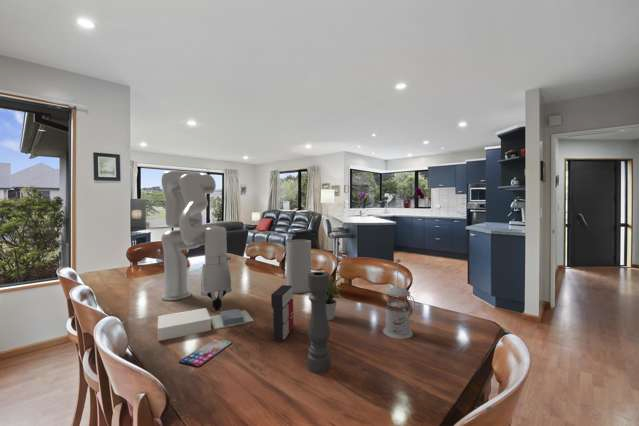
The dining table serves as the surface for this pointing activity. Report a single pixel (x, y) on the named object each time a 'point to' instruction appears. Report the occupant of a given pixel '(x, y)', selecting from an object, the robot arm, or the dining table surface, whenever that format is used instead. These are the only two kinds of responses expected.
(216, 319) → the mat
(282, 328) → the dark grey box
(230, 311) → the tile
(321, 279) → the candle holder
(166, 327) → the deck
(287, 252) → the cylinder vase
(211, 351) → the smartphone
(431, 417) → the dining table surface
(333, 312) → the house plant
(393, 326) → the french press
